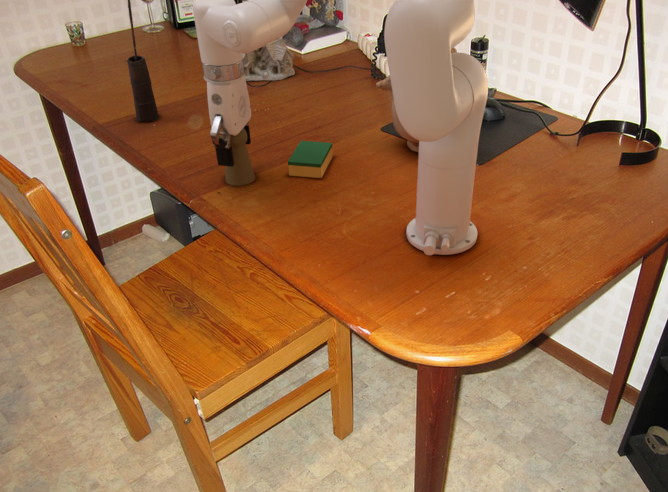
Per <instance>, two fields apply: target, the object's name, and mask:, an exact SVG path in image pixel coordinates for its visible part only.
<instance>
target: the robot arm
mask: <svg viewBox="0 0 668 492" xmlns="http://www.w3.org/2000/svg"><path fill="white" fill-rule="evenodd" d="M307 2H308V0H245V1H243V2H239V3H236V1H235V0H194V1H193V3H192V12H193V19H194V25H195V32H196V37H197V43H198V44H197V46H198V50H199V51H198V52H199V56H200V62H201V70H202V76H203V80H204V81H205V82H206V93H207V94H206V97H207V106H208V115H209V121H210V127H211V128H210V131H209V136H210V139H211V142H212V144H213V148H215V154H216V160H217V165H218V166H222V167H225V166H230V167H233V166H234V158H233V151H232V147H230V140H231V135H233V136H236V135H237V134H238V133H239V132H240V131H241V130H242V129H243V128H244V129H245V130H246V133H247V142H246V143H245V144H246V145H251V143H252V142H251V141H252V139H251V131H250V120H251V118H252V109H251V108H252V107H251V102H250V95H249V90H248V84H247V81H246V80H245V73H244V65H243V56H242V53H250V52H252V51H254V50H257V49H259V48H261V47H263V46H264V45H266V44H268V43H270V42H273V41H275V40H278V39H279V38H281V37H282V38H283V37H284V36H285V35H287V34H288V33H289V31H290V30H292V28H293V26H294V25H295V24H296V22H297V21H298V19H299V17H300V16H301V13H302V11H303V10H304V9H305V6H306V4H307ZM475 16H476V10H475V1H474V0H395V1H394V2H393V4H391V6H390V8H389V10H388V12H387V14H386V19H385V23H384V29H383V30H384V32H383V36H384V38H383V40H384V47H385V53H386V61H387V67H388V73H389V75H390V80H391V86H392V92H393V98H394V104H395V109H396V112H397V116H398V118H399V121H400V123H401V125H402V126H403V128H404V129H405V130H406V132H407V133H408V134H409V135H411V136H412V137H413V138H415V139H417V140H419V152H418V155H417V156H418V157H417V178H416V179H417V181H416V182H417V183H416V203H415V204H416V205H415V206H416V207H415V217H414V218H412V220H410V221H409V222H408V224H407V226H406V231H405V232H406V233H405V234H406V238H407V240H408V242H409V244H410V245H412V246H413V247H414V248H416V249H417V250H420V251H422V252H423V253H424V254H425V255H426V256H433V255H439V256H448V255H449V256H450V255H451V256H452V255H456V254H460V253H463V252H466V251H467V250H469V249H471V248H472V247H473V246H474V245H475V244H476V242H477V240H478V229H477V226H476V225H475V224H474V223H473V222H472V221H471V215H472V205H473V204H472V203H473V195H474V187H475V175H476V168H477V159H478V150H479V149H478V148H479V141H480V135H481V130H482V129H481V128H482V124H483V119H484V114H485V110H486V106H487V102H488V95H489V94H488V93H489V81H488V77H487V76H488V75H487V73H486V70H485V68H484V66H483V64H482V63H481V62H480V60H479V59H477V58H476V57H475V56H473V55H471V54H469V53H465V52H460V51H459V52H458V51H457V53H451V49H452V48H456V47H457V46H458V45H459V44H461V42H463V41H464V40H465V39H466V38H467V37H468V36H469V34H470V33H471V32H472V30H473V27H474V25H475ZM223 129H226V130H227V131H222V130H223ZM220 135H224V136H226V140H225V141H224V140H223V139H222V138H221V137H220Z"/></svg>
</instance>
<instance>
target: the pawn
mask: <svg viewBox="0 0 668 492" xmlns="http://www.w3.org/2000/svg"><path fill="white" fill-rule="evenodd" d="M221 131H227V130H226V129H221ZM220 138H222V139H223V140H224V141H225V140H226V136H224V135H220ZM246 142H247V133H246V130H245V129H244V128H243V129H242V130H241V131H240V132H239V133H238V134H237V135H236V136H233V135H231V140H230V147H232V151H233V158H234V166H233V167H230V166H224V169H225V170H224V173H225V174H224V175H225V182H226V183H227V184H228V185H231V186H234V187H236V186H237V187H240V186H246V185H249V184H251V183H252V182H254V181H255V179H256V175H255V172H254V168H253V165H252V161H251V158H250V155H249V151H248V147H247V144H245V143H246Z"/></svg>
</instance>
